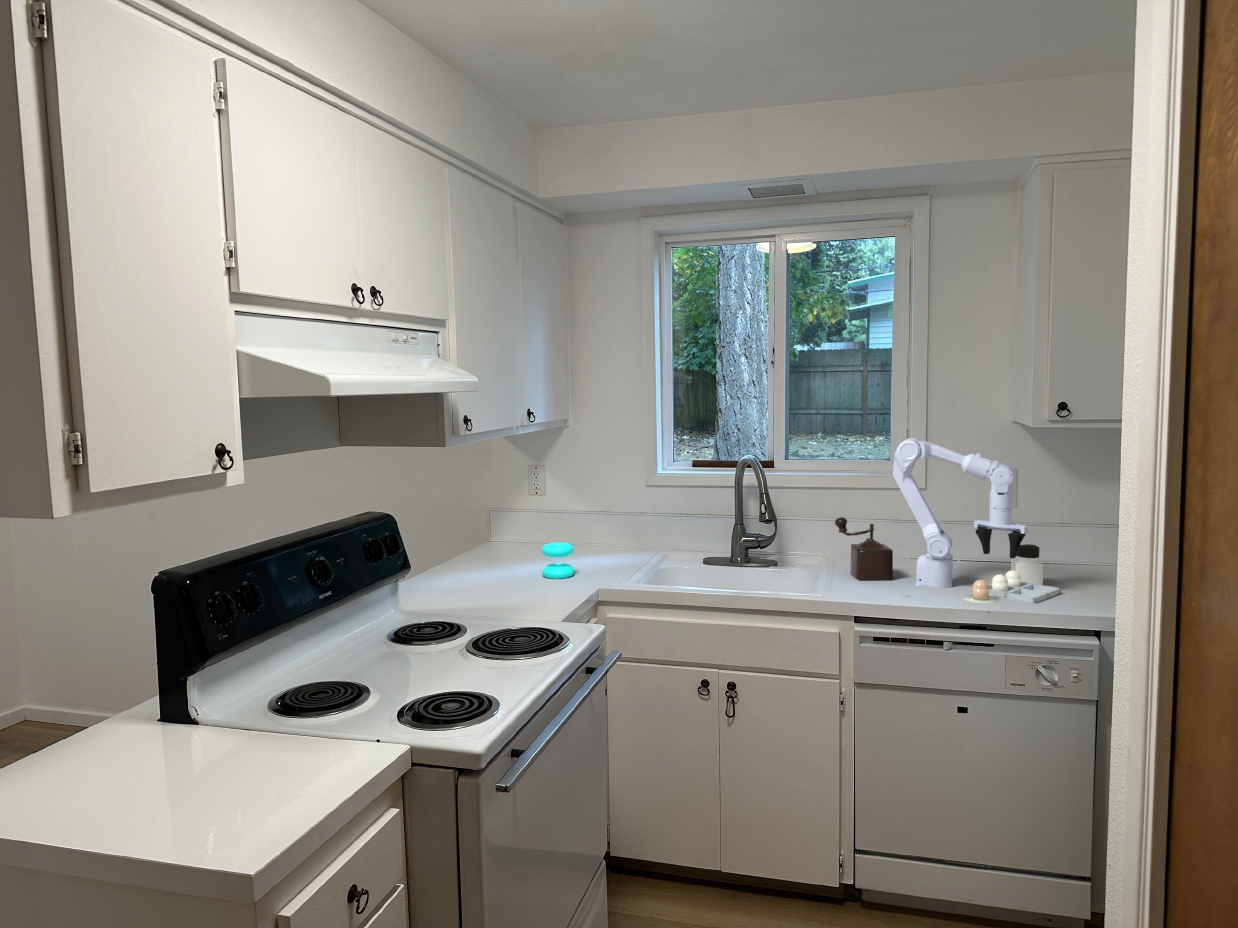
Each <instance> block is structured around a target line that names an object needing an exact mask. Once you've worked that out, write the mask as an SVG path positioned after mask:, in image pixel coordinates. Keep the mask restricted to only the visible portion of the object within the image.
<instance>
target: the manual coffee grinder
mask: <svg viewBox="0 0 1238 928" xmlns="http://www.w3.org/2000/svg"><path fill="white" fill-rule="evenodd" d="M834 525H835V526H836V527H837V528H838V533H840V534H843V535H845V536H849V537H850V536H859V535H865V534H868V533H869V538H868V537H867V538H866V539H865V540H864V541H863V542H859V543H851V545H850V571H849V573H850V574H851V576H852V577H853V578H854V579H856V580H857V581H859V582H877V581H878V582H880V581H881V582H883V581H893V580H894V577H893V573H894V572H893V571H894V570H893V569H894V568H893V567H894V566H893V565H894V563H893V562H894V558H893V557H894V553H893V549H892V548H890V547H889V546H887V545H886V544H885V543H881V542H879V541H877V540H876V539H874V531H875V528H874V526H875V525H874V523H870V524H869V529H866V530H863V531H861V530H860V531H855V532H848V528H847V525H848V520H847V518H845V517H844V516H842V517H841V516H840V517H838V518H836V519H835V520H834Z"/></svg>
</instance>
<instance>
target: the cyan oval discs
mask: <svg viewBox="0 0 1238 928" xmlns="http://www.w3.org/2000/svg"><path fill="white" fill-rule="evenodd" d="M573 552H574V546H573V545H572V544H570V543H569V542H550V543H546V544H544V545H543V546H542V548H541V553H542V554H543V555H544V556H545V557H549V558H552V559H553V558H556V559H557V558H558V559H559V558H565V557H566V558H567V557H568V556H571V554H573ZM541 573H542V575H543V576H544V577H545V578H548V579H555V580H556V579H557V580H559V579H567V578H570V577H572V576H573V575H574V573H575V568H574V567H573V566H572V565H571V564H569V563H564V562H563V563H562V562H560V563H559V562H557V563H549V564H547V565H546V566H544V567H543V568H542V571H541Z"/></svg>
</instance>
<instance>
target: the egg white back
mask: <svg viewBox="0 0 1238 928" xmlns="http://www.w3.org/2000/svg"><path fill="white" fill-rule="evenodd" d="M1004 576H1005V577H1006V578H1007V580H1008V586H1012V587H1018V588H1019V587H1020V580H1021V577H1020V574H1019V573H1018V572H1017V571H1014V570H1007V572H1006V573H1005V575H1004Z"/></svg>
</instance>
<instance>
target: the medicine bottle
mask: <svg viewBox="0 0 1238 928" xmlns="http://www.w3.org/2000/svg"><path fill="white" fill-rule="evenodd" d="M1040 550H1041V549H1040V546H1038V545H1036V544H1033V543H1021V544H1020V546H1019V548H1018V551H1017V555H1016V558H1011V563H1010V564H1011V565H1010V567H1011V568H1010V569H1011V570H1014V571H1017V572H1018V573H1019V574H1020V577H1021V580H1020V582H1026V583H1032V584H1038V585H1044V576H1045V575H1044V574H1045V569H1044V566H1045V564H1044V563H1042V562H1041V561H1040Z"/></svg>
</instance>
